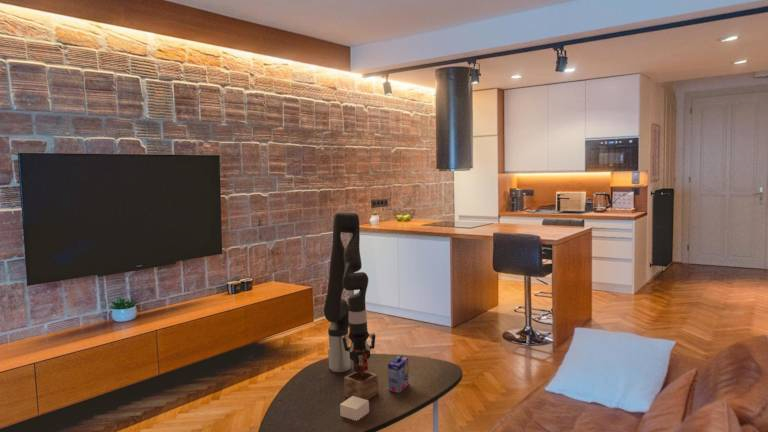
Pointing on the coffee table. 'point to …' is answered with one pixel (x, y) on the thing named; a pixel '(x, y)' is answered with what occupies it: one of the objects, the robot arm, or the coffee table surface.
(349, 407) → the offwhite block
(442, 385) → the coffee table surface
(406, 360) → the ink cartridge box
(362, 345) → the deodorant
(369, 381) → the wooden box
